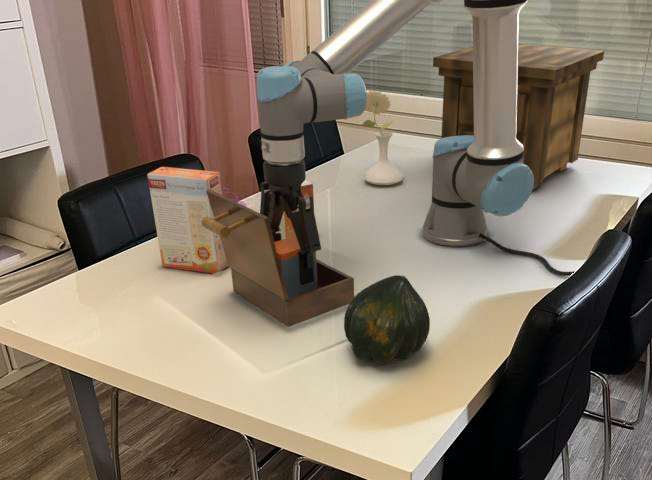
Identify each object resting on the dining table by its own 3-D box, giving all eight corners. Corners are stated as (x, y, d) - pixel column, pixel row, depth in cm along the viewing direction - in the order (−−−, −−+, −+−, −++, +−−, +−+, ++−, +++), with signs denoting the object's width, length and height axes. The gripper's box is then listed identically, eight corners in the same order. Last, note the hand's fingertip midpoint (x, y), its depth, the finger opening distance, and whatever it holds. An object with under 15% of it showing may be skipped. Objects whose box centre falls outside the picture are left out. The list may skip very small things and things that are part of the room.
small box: (286, 243, 169) (282, 189, 162) (273, 235, 173) (269, 182, 166) (316, 236, 172) (313, 183, 166) (303, 228, 177) (300, 176, 170)
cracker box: (231, 264, 159) (221, 170, 148) (218, 275, 154) (206, 179, 143) (176, 256, 163) (162, 164, 152) (161, 267, 158) (145, 172, 147)
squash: (315, 332, 121) (370, 281, 112) (352, 299, 133) (405, 249, 124) (372, 394, 122) (431, 348, 113) (404, 355, 134) (460, 310, 125)
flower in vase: (410, 180, 209) (412, 90, 196) (390, 191, 201) (391, 97, 188) (372, 173, 215) (372, 85, 202) (351, 183, 207) (349, 92, 194)
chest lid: (209, 188, 133) (179, 202, 130) (268, 217, 120) (236, 232, 117) (232, 265, 143) (205, 279, 140) (288, 299, 130) (260, 314, 127)
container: (300, 285, 148) (297, 234, 142) (318, 295, 144) (315, 243, 138) (267, 297, 143) (263, 245, 138) (284, 307, 139) (280, 254, 134)
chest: (296, 273, 155) (295, 248, 152) (354, 305, 142) (354, 278, 139) (233, 294, 146) (230, 268, 143) (289, 330, 133) (287, 302, 130)
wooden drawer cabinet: (586, 166, 219) (604, 51, 202) (540, 198, 195) (556, 70, 178) (483, 149, 237) (491, 41, 220) (428, 176, 212) (433, 57, 195)
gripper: (233, 150, 135) (244, 261, 146) (303, 178, 120) (309, 298, 132) (267, 143, 139) (275, 251, 150) (338, 169, 124) (341, 287, 136)
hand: (291, 273), depth 141 cm, fingers open, 10 cm apart
